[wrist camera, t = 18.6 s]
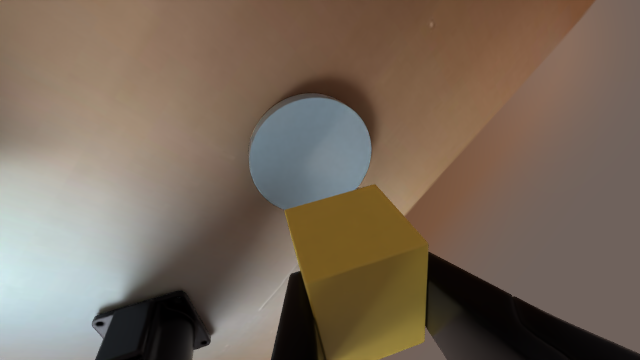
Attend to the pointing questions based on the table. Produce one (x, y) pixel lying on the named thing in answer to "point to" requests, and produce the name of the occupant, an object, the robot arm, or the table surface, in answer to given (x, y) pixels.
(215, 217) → the table surface
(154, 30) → the table surface
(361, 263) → the butter pat
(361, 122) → the plate
